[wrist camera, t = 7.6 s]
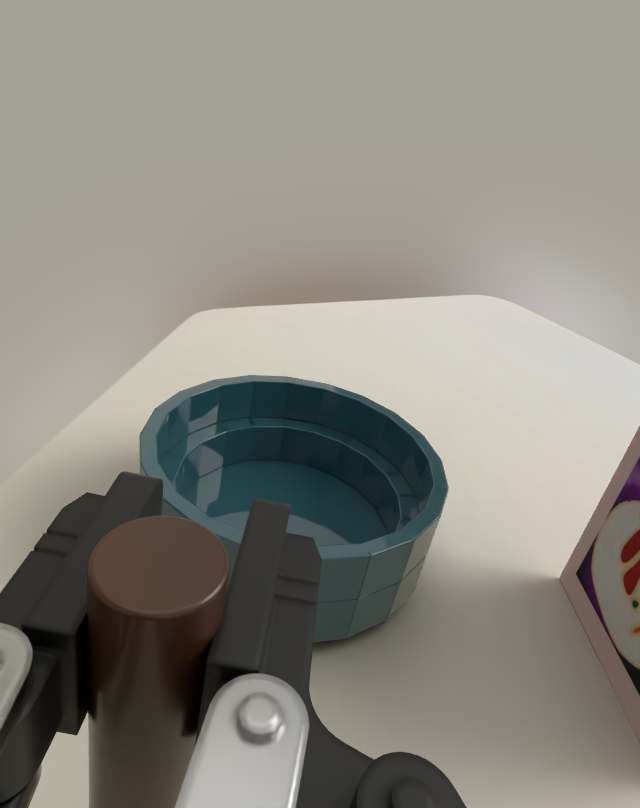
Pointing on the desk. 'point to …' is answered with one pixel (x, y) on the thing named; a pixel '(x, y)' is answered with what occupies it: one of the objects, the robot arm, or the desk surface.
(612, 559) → the greeting card
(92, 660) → the brown joystick
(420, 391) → the desk surface
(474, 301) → the desk surface
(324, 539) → the bowl
